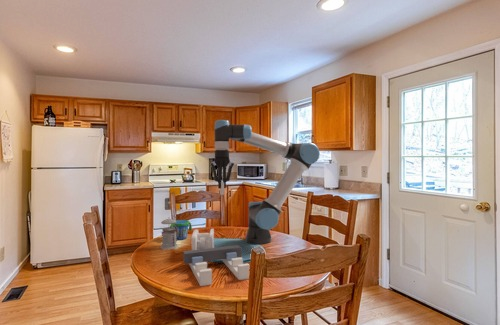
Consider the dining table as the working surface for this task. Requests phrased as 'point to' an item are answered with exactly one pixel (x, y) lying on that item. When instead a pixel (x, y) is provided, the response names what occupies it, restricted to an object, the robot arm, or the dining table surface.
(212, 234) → the cable organizer
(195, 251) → the dark gray bar
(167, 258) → the dining table surface
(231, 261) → the white notched holder
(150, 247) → the dining table surface
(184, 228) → the snack cup
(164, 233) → the french press
